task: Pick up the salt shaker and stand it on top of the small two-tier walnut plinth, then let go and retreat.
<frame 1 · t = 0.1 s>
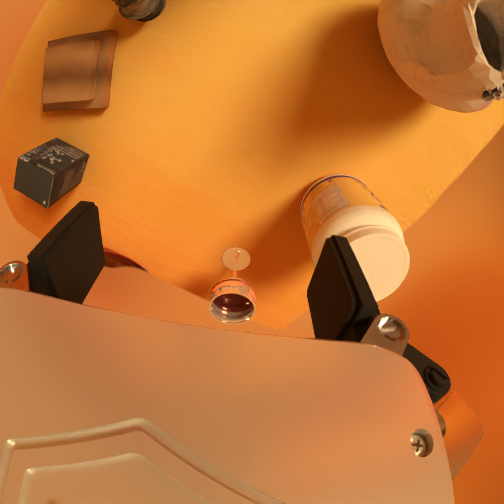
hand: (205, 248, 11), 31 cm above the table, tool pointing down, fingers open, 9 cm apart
wineglass: (236, 258, 50), on the table
supplement tub: (335, 206, 44), on the table
plinth: (79, 71, 30), on the table
box: (69, 158, 39), on the table
ceramic pitcher: (411, 47, 28), on the table
salt shaker: (148, 6, 26), on the table
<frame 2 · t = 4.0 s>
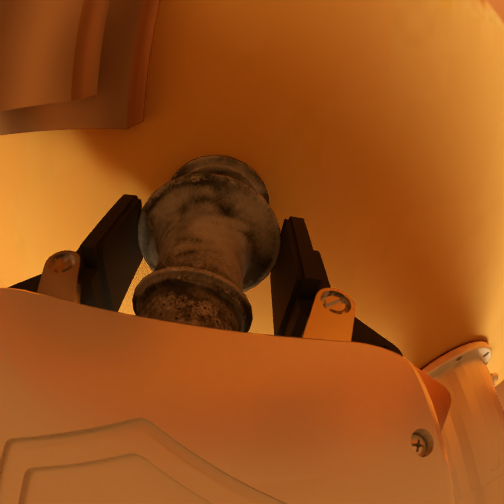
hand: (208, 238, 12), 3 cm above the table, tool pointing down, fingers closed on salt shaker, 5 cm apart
plinth: (55, 20, 8), on the table
salt shaker: (216, 203, 14), on the table, touching gripper
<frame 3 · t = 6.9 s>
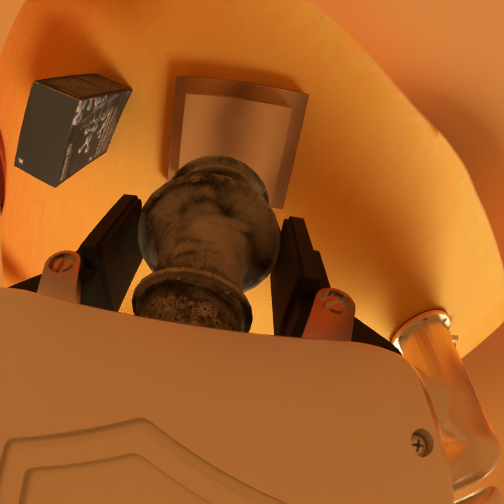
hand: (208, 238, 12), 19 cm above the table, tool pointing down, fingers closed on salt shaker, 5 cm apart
plinth: (233, 139, 27), on the table
box: (100, 111, 25), on the table
salt shaker: (216, 204, 14), point 15 cm above the table, touching gripper
when the fingers open (7 cm above the table, at t = 9.7 s): salt shaker stays where it is, resting on plinth.
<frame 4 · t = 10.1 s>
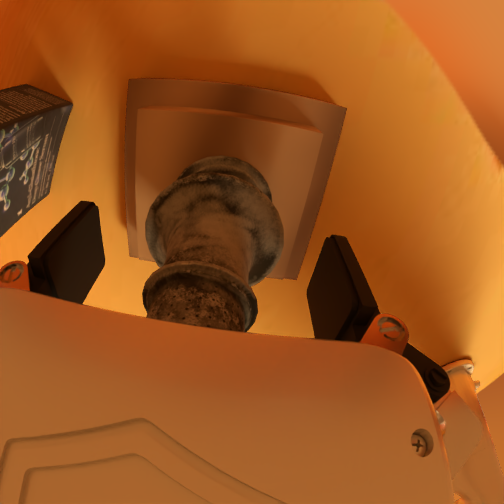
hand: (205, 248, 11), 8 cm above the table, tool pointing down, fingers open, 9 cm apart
plinth: (224, 176, 18), on the table
box: (38, 137, 16), on the table
salt shaker: (221, 202, 15), point 4 cm above the table, touching plinth
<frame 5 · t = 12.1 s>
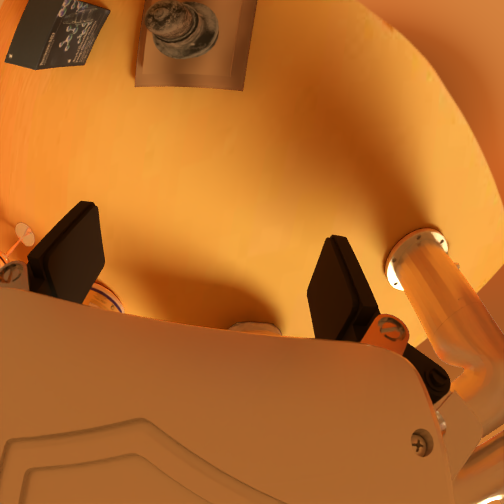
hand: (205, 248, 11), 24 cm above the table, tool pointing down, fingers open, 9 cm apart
wineglass: (25, 234, 38), on the table
supplement tub: (97, 302, 47), on the table
plinth: (196, 37, 24), on the table
box: (82, 33, 22), on the table
ceramic pitcher: (247, 337, 53), on the table
salt shaker: (192, 34, 21), point 4 cm above the table, touching plinth
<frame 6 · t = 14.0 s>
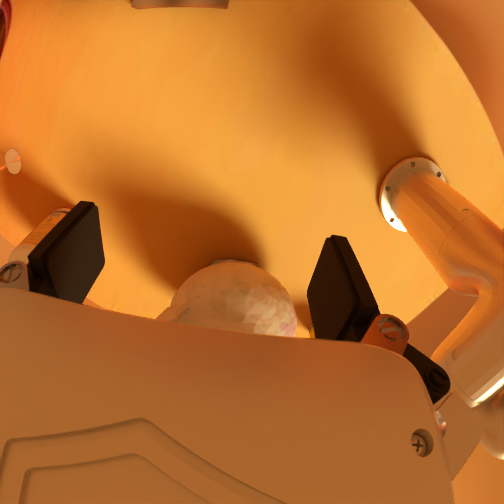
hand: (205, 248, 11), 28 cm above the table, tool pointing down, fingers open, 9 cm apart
wineglass: (13, 161, 35), on the table
supplement tub: (74, 235, 44), on the table
ceramic pitcher: (228, 281, 49), on the table
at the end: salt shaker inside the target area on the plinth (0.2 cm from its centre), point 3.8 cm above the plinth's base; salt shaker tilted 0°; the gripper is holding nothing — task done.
